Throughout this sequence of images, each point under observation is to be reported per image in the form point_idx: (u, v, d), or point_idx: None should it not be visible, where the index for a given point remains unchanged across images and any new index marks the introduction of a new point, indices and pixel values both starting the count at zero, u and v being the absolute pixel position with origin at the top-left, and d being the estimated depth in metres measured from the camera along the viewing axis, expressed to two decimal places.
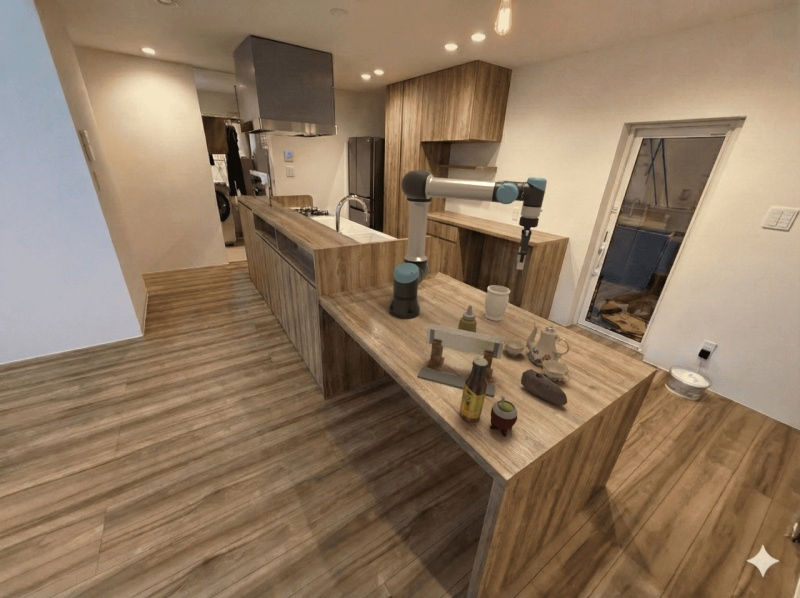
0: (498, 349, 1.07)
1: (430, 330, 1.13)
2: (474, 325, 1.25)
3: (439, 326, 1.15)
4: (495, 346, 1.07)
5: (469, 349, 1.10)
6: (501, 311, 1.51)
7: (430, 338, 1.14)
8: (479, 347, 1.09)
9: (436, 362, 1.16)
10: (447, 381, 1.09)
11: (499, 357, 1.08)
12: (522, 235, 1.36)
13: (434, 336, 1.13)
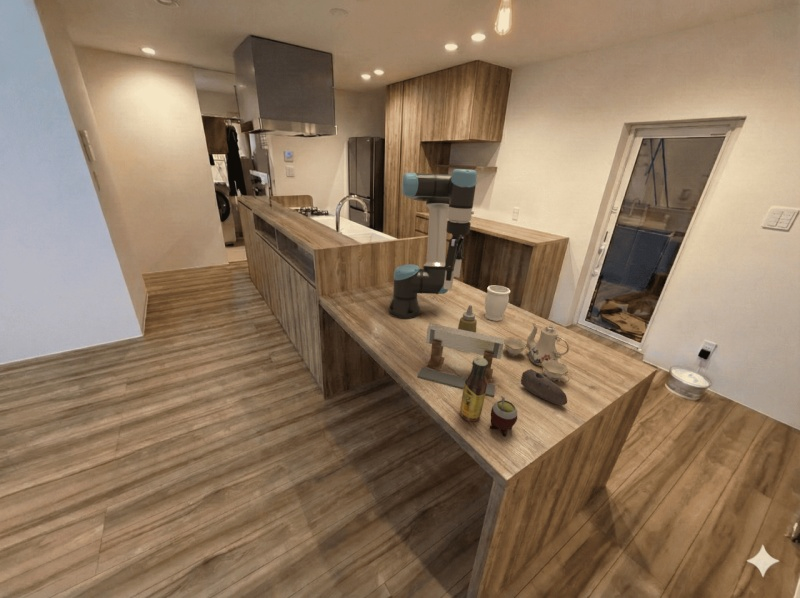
0: (498, 349, 1.07)
1: (430, 330, 1.13)
2: (474, 325, 1.25)
3: (439, 326, 1.15)
4: (495, 346, 1.07)
5: (469, 349, 1.10)
6: (501, 311, 1.51)
7: (430, 338, 1.14)
8: (479, 347, 1.09)
9: (436, 362, 1.16)
10: (447, 381, 1.09)
11: (499, 357, 1.08)
12: None
13: (434, 336, 1.13)
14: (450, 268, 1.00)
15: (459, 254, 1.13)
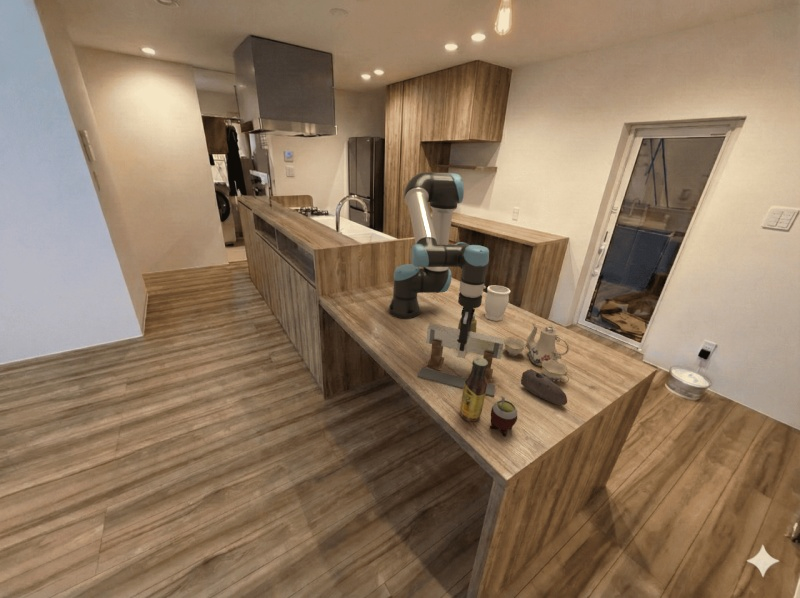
0: (498, 349, 1.07)
1: (430, 330, 1.13)
2: (474, 325, 1.25)
3: (439, 326, 1.15)
4: (495, 346, 1.07)
5: (469, 349, 1.10)
6: (501, 311, 1.51)
7: (430, 338, 1.14)
8: (479, 347, 1.09)
9: (436, 362, 1.16)
10: (447, 381, 1.09)
11: (499, 357, 1.08)
12: (462, 317, 1.07)
13: (434, 336, 1.13)
14: (464, 342, 1.06)
15: (468, 327, 1.12)
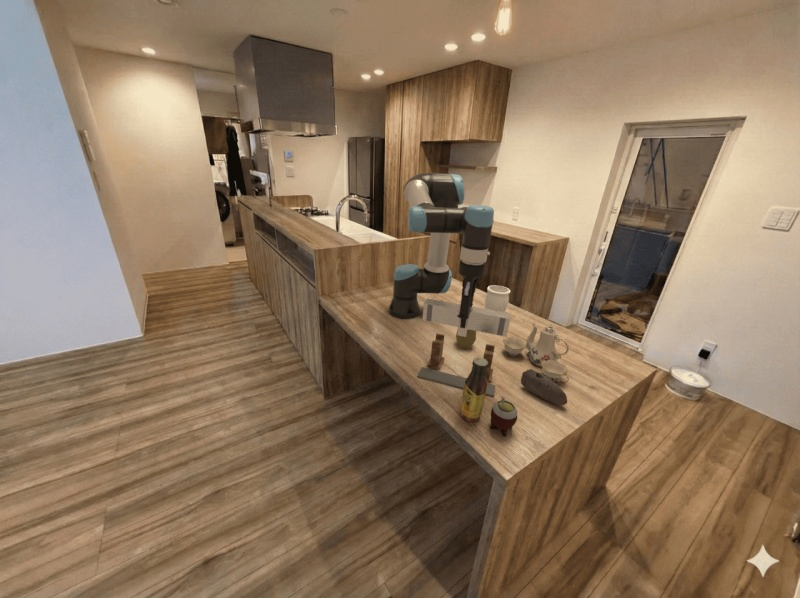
0: (504, 325, 0.94)
1: (427, 305, 1.01)
2: None
3: (437, 301, 1.02)
4: (500, 322, 0.94)
5: (471, 326, 0.98)
6: (501, 311, 1.51)
7: (427, 315, 1.02)
8: (482, 324, 0.97)
9: (436, 362, 1.16)
10: (447, 381, 1.09)
11: (505, 334, 0.95)
12: None
13: (432, 312, 1.01)
14: (465, 316, 0.94)
15: None
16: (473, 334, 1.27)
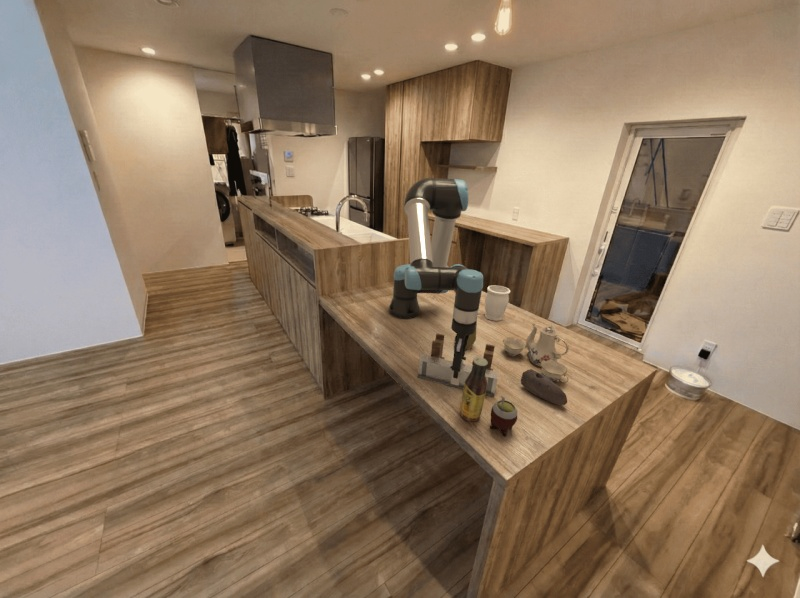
0: (492, 384, 1.03)
1: (422, 362, 1.09)
2: None
3: (432, 358, 1.11)
4: (489, 381, 1.03)
5: (462, 383, 1.07)
6: (501, 311, 1.51)
7: (422, 370, 1.11)
8: None
9: None
10: None
11: (493, 392, 1.04)
12: (455, 344, 1.02)
13: (426, 369, 1.10)
14: (457, 369, 1.01)
15: (462, 353, 1.08)
16: (473, 334, 1.27)
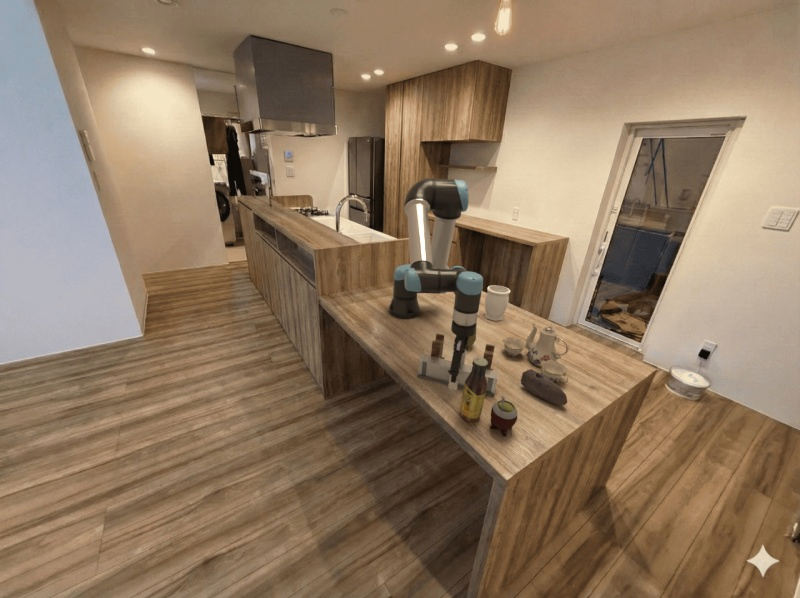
0: (492, 384, 1.03)
1: (422, 362, 1.09)
2: None
3: (431, 358, 1.11)
4: (489, 381, 1.03)
5: (462, 383, 1.07)
6: (501, 311, 1.51)
7: (422, 370, 1.11)
8: None
9: None
10: None
11: (493, 392, 1.04)
12: None
13: (426, 369, 1.10)
14: (455, 373, 0.97)
15: None
16: None
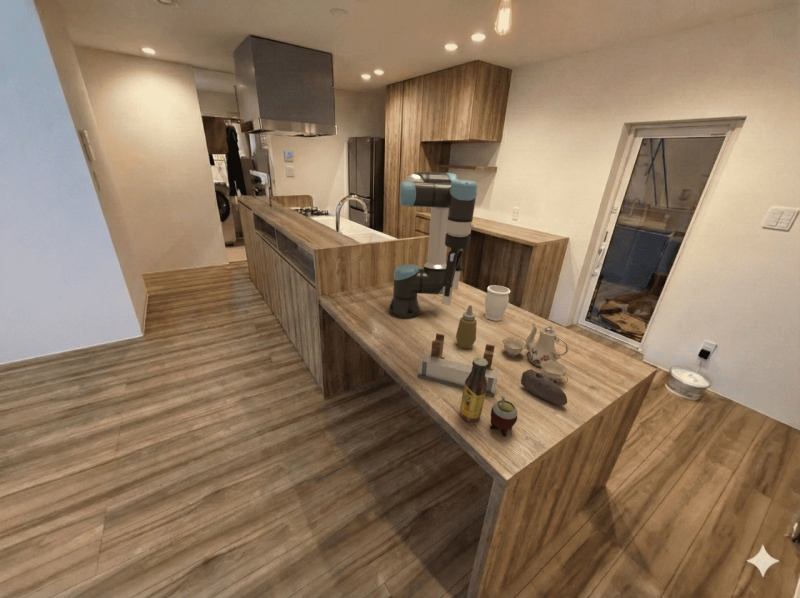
0: (492, 384, 1.03)
1: (422, 362, 1.09)
2: (474, 325, 1.25)
3: (431, 358, 1.11)
4: (489, 381, 1.03)
5: (462, 383, 1.07)
6: (501, 311, 1.51)
7: (422, 370, 1.11)
8: None
9: None
10: None
11: (493, 392, 1.04)
12: None
13: (426, 369, 1.10)
14: (449, 284, 0.96)
15: (458, 266, 1.09)
16: (473, 334, 1.27)
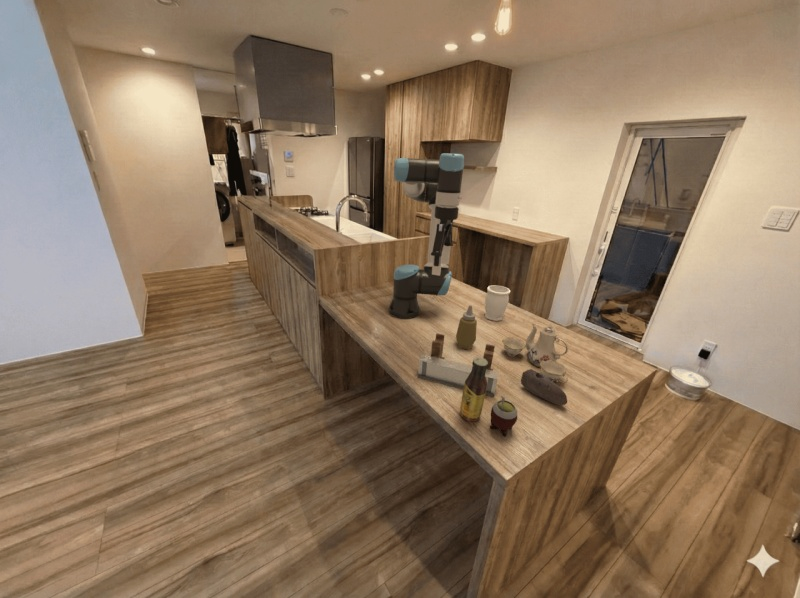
0: (492, 384, 1.03)
1: (422, 362, 1.09)
2: (474, 325, 1.25)
3: (431, 358, 1.11)
4: (489, 381, 1.03)
5: (462, 383, 1.07)
6: (501, 311, 1.51)
7: (422, 370, 1.11)
8: None
9: None
10: None
11: (493, 392, 1.04)
12: None
13: (426, 369, 1.10)
14: (438, 253, 1.00)
15: (448, 240, 1.13)
16: (473, 334, 1.26)
